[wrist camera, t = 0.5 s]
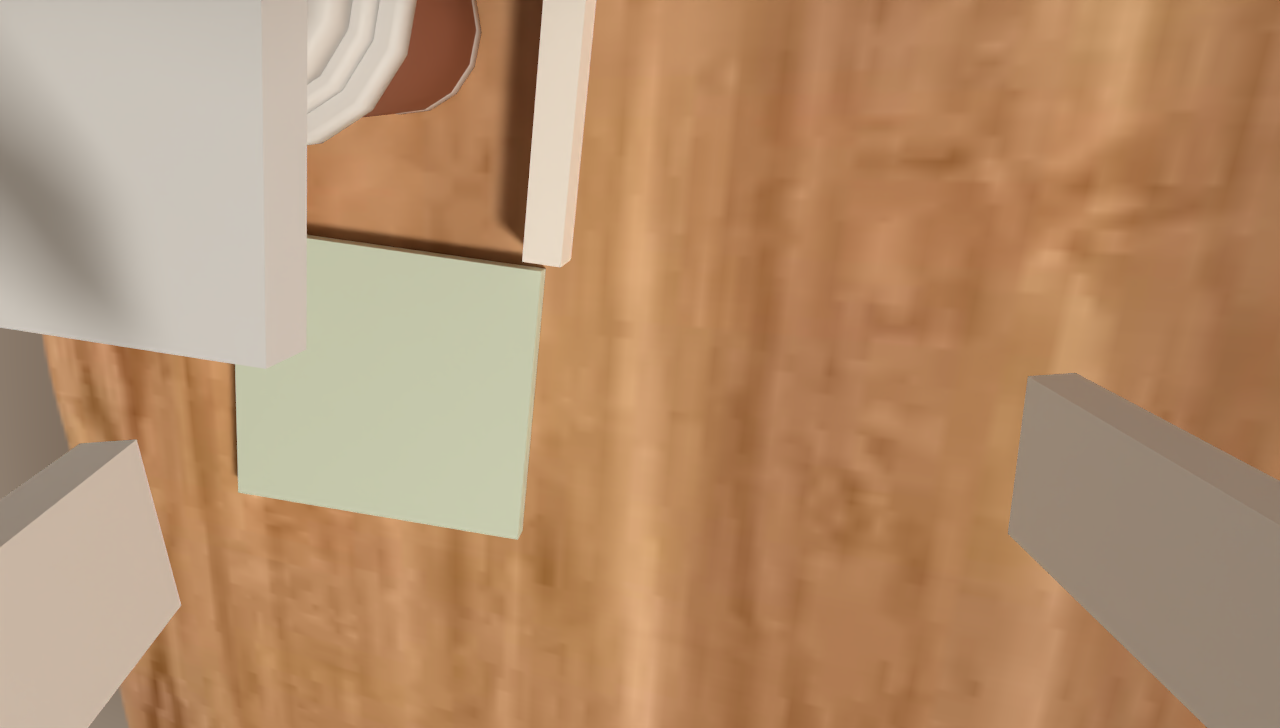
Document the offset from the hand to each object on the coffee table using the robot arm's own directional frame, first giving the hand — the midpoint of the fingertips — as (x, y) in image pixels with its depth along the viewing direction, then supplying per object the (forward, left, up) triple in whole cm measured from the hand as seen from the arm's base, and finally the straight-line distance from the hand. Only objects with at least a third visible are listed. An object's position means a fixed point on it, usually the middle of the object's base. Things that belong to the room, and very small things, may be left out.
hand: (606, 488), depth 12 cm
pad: (+13, -4, -20) cm, 25 cm away
